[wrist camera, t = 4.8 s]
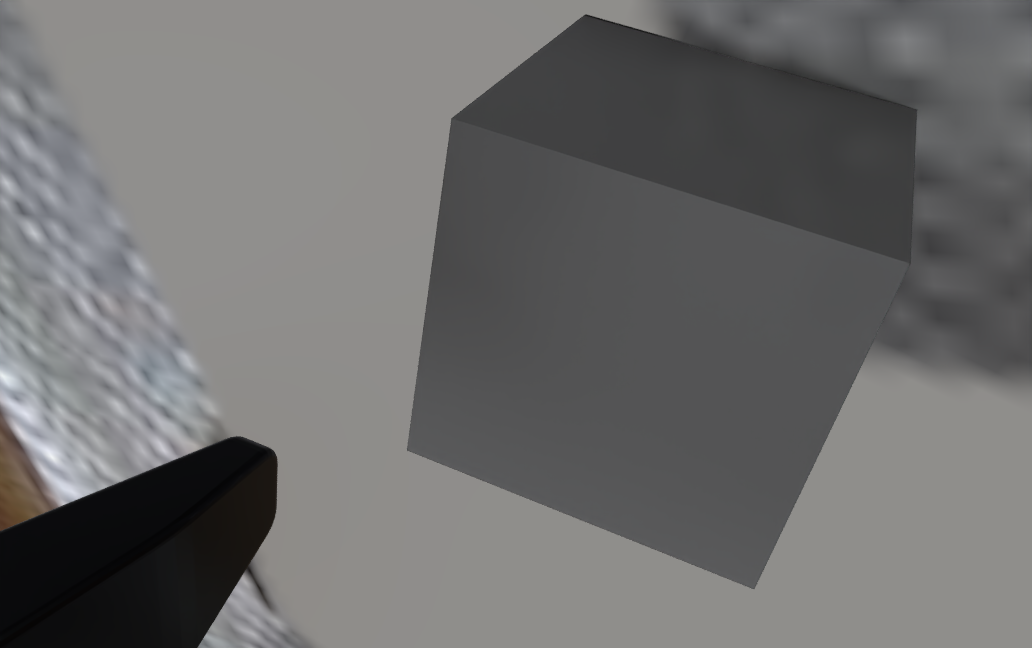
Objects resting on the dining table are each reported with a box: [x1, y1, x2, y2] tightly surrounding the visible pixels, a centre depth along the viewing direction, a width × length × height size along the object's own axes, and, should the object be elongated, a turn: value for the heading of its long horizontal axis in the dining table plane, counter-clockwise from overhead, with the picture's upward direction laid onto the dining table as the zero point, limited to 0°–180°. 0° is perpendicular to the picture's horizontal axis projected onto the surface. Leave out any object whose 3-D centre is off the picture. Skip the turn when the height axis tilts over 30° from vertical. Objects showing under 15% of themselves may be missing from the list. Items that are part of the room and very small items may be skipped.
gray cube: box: [407, 14, 917, 589], centre depth 13 cm, size 5×5×5 cm
